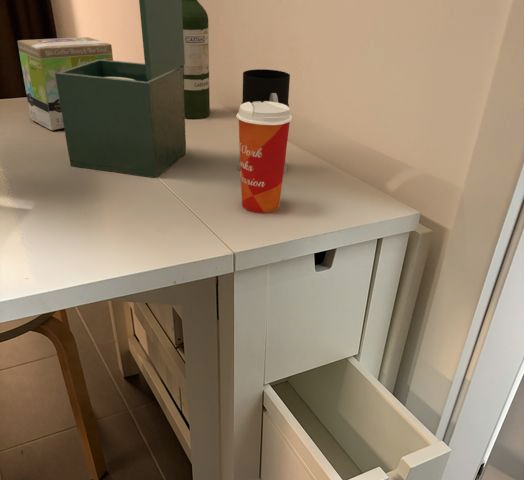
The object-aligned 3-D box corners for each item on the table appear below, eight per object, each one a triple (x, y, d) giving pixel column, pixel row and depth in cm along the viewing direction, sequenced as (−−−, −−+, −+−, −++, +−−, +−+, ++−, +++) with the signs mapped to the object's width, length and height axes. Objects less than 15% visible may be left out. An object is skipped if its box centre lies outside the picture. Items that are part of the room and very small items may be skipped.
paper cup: (228, 198, 85) (228, 101, 76) (274, 193, 87) (280, 98, 79) (245, 218, 79) (248, 115, 71) (294, 213, 81) (302, 112, 73)
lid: (133, -59, 72) (139, -58, 72) (173, -58, 83) (178, -58, 83) (146, 79, 82) (151, 79, 82) (180, 64, 93) (185, 64, 92)
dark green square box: (70, 166, 93) (54, 73, 85) (108, 143, 104) (98, 59, 96) (156, 178, 91) (149, 83, 82) (186, 153, 101) (182, 67, 93)
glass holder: (282, 159, 101) (288, 68, 92) (298, 188, 90) (306, 88, 81) (234, 160, 100) (235, 68, 91) (245, 189, 88) (247, 87, 79)
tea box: (52, 132, 108) (37, 47, 99) (30, 120, 114) (14, 39, 105) (120, 121, 117) (112, 41, 108) (96, 110, 122) (86, 34, 113)
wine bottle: (196, 121, 119) (191, -51, 101) (166, 115, 122) (156, -53, 104) (216, 113, 125) (215, -51, 107) (188, 108, 128) (182, -53, 110)
